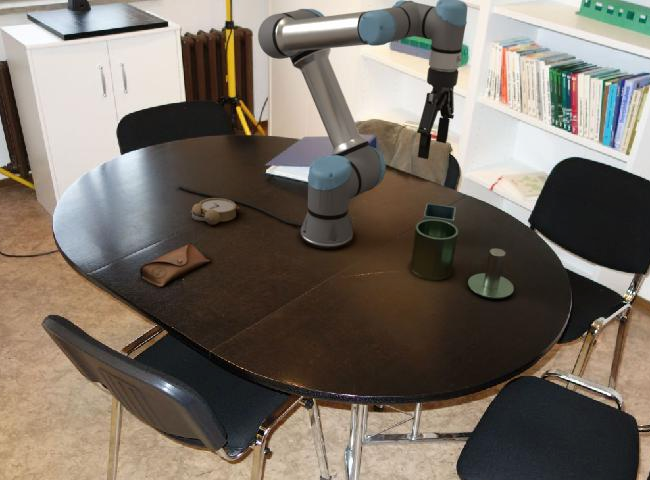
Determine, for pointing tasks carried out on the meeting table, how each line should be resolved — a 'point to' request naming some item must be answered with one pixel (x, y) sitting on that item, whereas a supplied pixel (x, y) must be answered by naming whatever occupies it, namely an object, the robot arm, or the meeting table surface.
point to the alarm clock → (214, 210)
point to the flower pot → (439, 212)
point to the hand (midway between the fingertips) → (432, 149)
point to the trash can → (433, 249)
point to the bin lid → (492, 278)
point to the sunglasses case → (172, 265)
